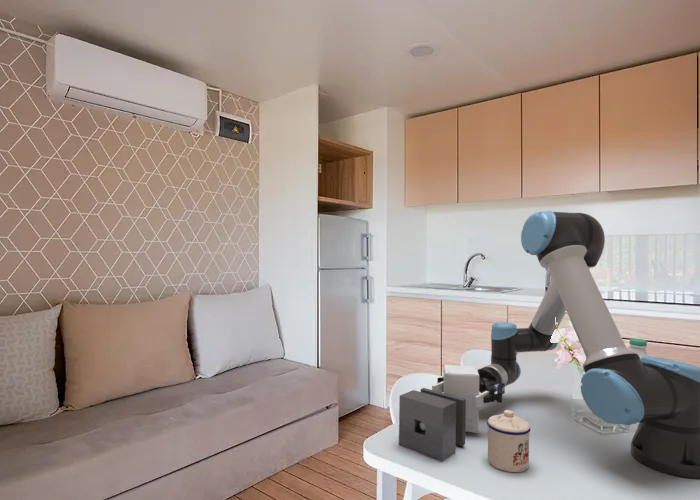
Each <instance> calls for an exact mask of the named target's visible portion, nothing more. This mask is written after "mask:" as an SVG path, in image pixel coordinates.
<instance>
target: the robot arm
mask: <svg viewBox="0 0 700 500" xmlns="http://www.w3.org/2000/svg"><path fill="white" fill-rule="evenodd" d="M520 241H521V246H522V249H523V250H524V251H525V252H526V253H527V254H529V255H531V256H536V258H537V260H538V263H539V264H540V266H541V267H542V268H543V269H545V270H548V271H549V273H550V275H551V277H552V279H551V282H550V283H549V286H548V287H547V289H546V291H545V293H544V296H543V298H542V300H541V302H540V304H539V306H538V308H537V310H536V312H535V315H534V316H533V318H532V320H531V322H530V324H529V326H528V327H526V328H523V327H522V328H520V327H518V328H517V325H516V323H513V322H506V321H498V322H497V321H496V322H494V323H493V324H492V326H491V331H490V332H491V333H490V339H491V340H490V341H491V345H490V346H491V349H490V350H491V356H490V364H488V365H485V366H484V367H482V368H478V369H477V371H478V374H479V395H477V396H475V408H479V409H480V407H482V406H484V405H486V404H489V403H493V402H495V401H496V403H498V404H502V403H503V395H505V392H506V389H505V388H506V387H507V386H509V385H512V384H514V383H515V382H516V381H517V380H519V378H520V376H521V373H522V371H521V367H520V364H519V363H518V362H517V354H518V353H530V352H531V353H532V352H533V353H535V352H536V353H537V352H546V351H552V350H554V349H556V347H558V345H559V342H558V343H551V342H550V339H551V336H552V334H553V332H554V330H555V329H557V330H558V328H559V326H560V325H561V322H562V321H563V319H564V317H565V315H566V314H567V315H568V317H569V320H570V322H571V325H572V327H573V330H574V332H575V334H576V336H577V339H578V341H579V344H580V346H581V348H582V350H583V353H584V355H585V361H584V363H583V365H582V368H583V371H584V374H583V375H582V376H581V380H580V383H581V385H580V392H581V396H582V399H583V401H584V403H585V404H586V406H587V408H589V410H590V411H591V412H592V413H593V414H594V415H595V416H596V417H598V418H599V419H600V420H601V419H602V421H604V422H606V423H608V424H613V425H626V426H627V425H629V426H631V425H636V424H638V425H637V427H636V430H635V432H634V435H633V437H632V440H631V442H630V443H631V444H630V454H631V456H632V457H633V459H635V460H636V461H638V462H640V463H641V464H643V465H645V466H646V467H649V468H652V469H654V470H657V471H659V472H661V473H666V474H669V475H673V476H676V477H682V478H688V479H689V478H690V479H700V367H698V366H697V365H694V364H691V363H687V362H683V361H680V360H674V359H669V358H665V357H657V356H650V355H648V356H643V357H642V358H641V359H640V357H639V355H638V353H636V352H634V351H632V350H630V348H628V347H627V346H626V344H625V341H624V340H623V337H622V335H621V334H620V331H619V329H618V327H617V325H616V322H615V320H614V319H613V317H612V315H611V312H610V310H609V308H608V306H607V304H606V302H605V300H604V298H603V296H602V294H601V293H602V292H601V291H600V289H599V287H598V285H597V283H596V281H595V278H594V277H593V274H592V273H591V270H590V269H591V268H596V266H597V264H598V262H599V261H600V259H601V256H602V255H603V252H604V248H605V241H606V239H605V232H604V227H603V226H602V224H601V223H600V222H599V220H597V219H596V218H595V217H593V216H592V215H590V214H587V213H584V212H567V211H566V212H561V211H552V210H546V211H537V212H534V213H532V214H531V215H530V216H528V217H527V218H526V220H525V222H523V226H522V230H521V232H520ZM565 311H567V312H565ZM555 317H556V322H558V325H557V327H556V325H555ZM431 390H434V391H438V392H441V393H444V376H441V377H437V382H436V383H434V384H433V385H432V386H431ZM495 392H497V393H495Z"/></svg>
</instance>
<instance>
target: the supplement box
mask: <svg viewBox="0 0 700 500" xmlns="http://www.w3.org/2000/svg"><path fill="white" fill-rule="evenodd" d="M477 370H478V369H477V366H474V365H455V364H444V365H443V377H444V392H443V393H445V394H449V395H453V396H456V397H460V398H464V399H466V421H465V433H466V432H468V433H476V434H478V433H479V428H480V427H479V426H480V425H479V423H480V420H479V419H480V418H479V417H480V413H479V412H480V407H479V408H475V396H477V395H479V394H480V392H479V374H478V371H477Z"/></svg>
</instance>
